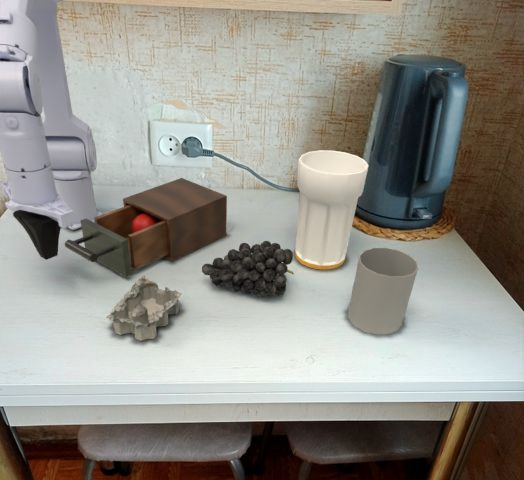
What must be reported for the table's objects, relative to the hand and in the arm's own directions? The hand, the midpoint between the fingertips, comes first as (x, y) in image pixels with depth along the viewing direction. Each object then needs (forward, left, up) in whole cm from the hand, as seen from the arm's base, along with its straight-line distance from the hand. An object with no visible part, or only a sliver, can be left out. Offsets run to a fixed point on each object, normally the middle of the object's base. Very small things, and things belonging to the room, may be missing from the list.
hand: (49, 256), depth 76 cm
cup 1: (+23, +39, -7) cm, 46 cm away
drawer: (0, +14, -6) cm, 15 cm away
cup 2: (+40, +29, -7) cm, 50 cm away
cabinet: (0, +26, -6) cm, 27 cm away
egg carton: (+15, +5, -7) cm, 18 cm away
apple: (-1, +19, -2) cm, 19 cm away
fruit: (+20, +22, -7) cm, 31 cm away
